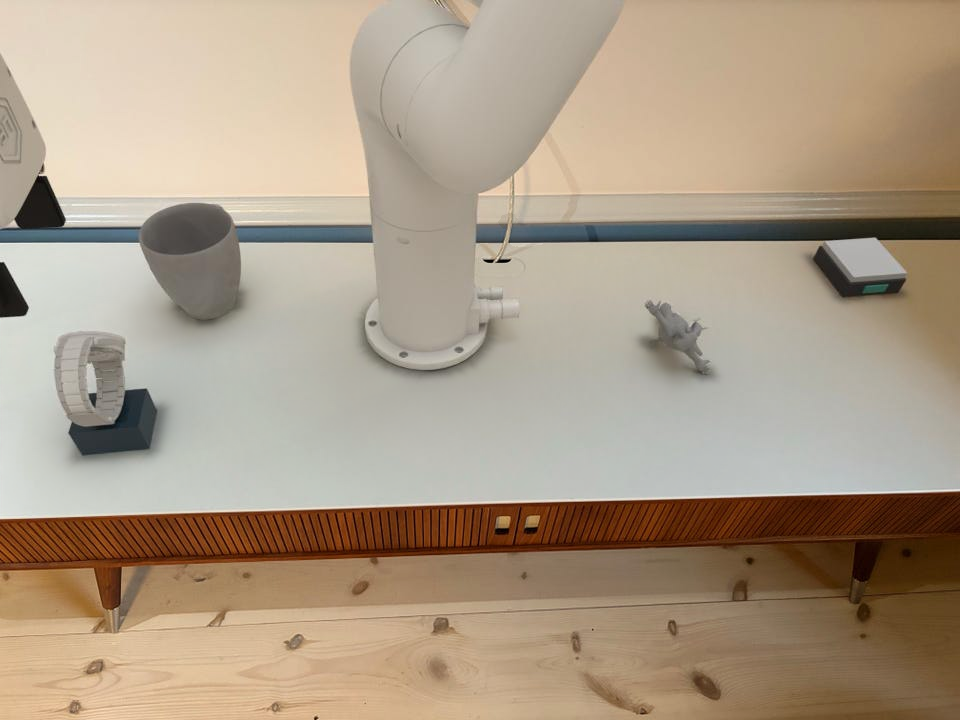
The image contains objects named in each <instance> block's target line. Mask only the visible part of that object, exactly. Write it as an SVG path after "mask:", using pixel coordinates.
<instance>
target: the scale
mask: <svg viewBox="0 0 960 720" xmlns="http://www.w3.org/2000/svg"><path fill="white" fill-rule="evenodd" d="M812 259H813V261H814V262H815V264H816V265H817V266H818V268H819V269H820V270H821V271H822V273H823V274H824V275H825V277H826V278H827V279H828V280H829V282H830V283H831V284H832V286H834V288H835V290H836V291H837V293H839V295H840V296H841V297H842V298H853V297H863V296H876V295H887V294H897V293H900V291H901V289H902V288H903V286H904V284H905V283H906V281H907V278H906V277H907V274H908V272H907V271H906V269H904V268H903V266H902V265H901V264H900V263H899V262H898V260H897V259H896V258H894V256H893V255H892V254H891V253H890V251H888V249H886V247H885V246H884V245H883V244H882V243H881V242H880V241H879V240H878V238H877V237H867V238H866V237H863V238H852V239H851V238H850V239H837V240H836V239H833V240H825V241H823V244H822V245H819V246H818V248H817V250H816V252H815V254H814V256H813V257H812Z"/></svg>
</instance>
